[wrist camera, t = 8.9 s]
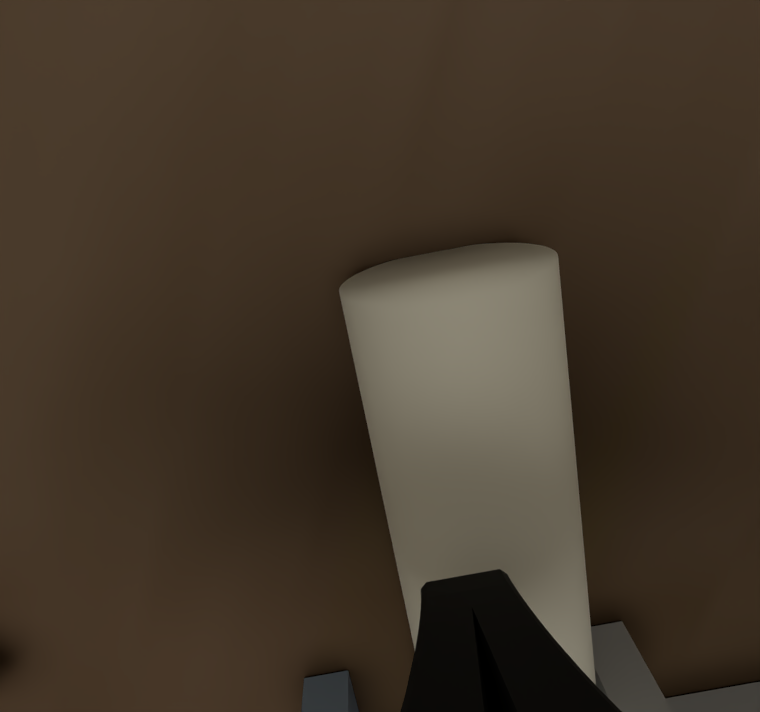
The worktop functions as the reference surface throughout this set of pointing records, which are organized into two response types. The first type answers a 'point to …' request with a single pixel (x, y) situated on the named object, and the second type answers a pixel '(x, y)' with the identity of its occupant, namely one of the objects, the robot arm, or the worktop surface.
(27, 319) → the worktop surface
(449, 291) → the tall cream cylinder
